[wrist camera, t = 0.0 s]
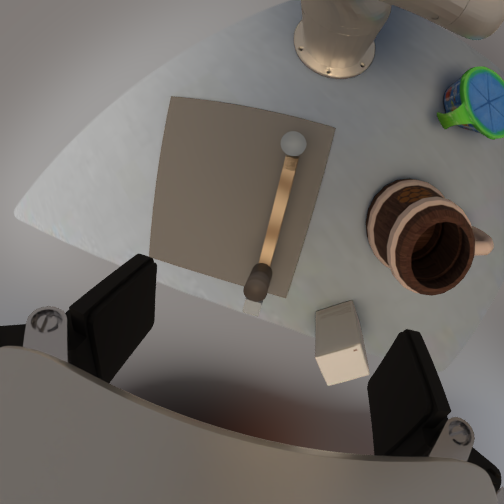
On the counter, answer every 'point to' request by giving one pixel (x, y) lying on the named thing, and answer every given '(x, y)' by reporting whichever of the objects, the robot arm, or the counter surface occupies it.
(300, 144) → the gate frame
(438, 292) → the mug
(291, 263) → the taupe mat
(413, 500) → the robot arm
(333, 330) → the supplement box
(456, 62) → the counter surface
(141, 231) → the counter surface
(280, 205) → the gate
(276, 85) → the counter surface
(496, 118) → the snack cup
